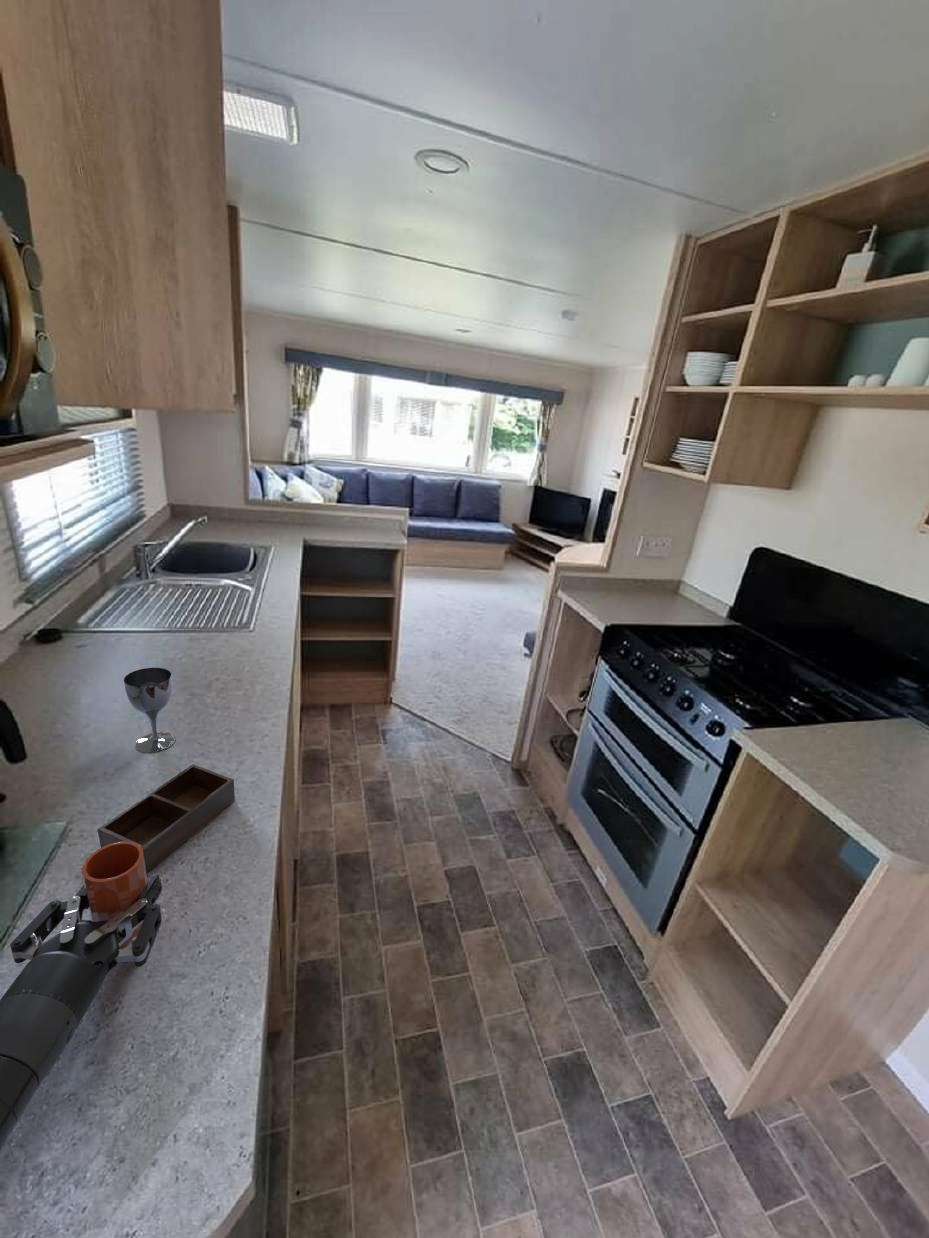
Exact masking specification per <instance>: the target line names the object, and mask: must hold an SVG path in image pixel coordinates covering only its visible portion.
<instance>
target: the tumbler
mask: <svg viewBox="0 0 929 1238" xmlns="http://www.w3.org/2000/svg"><path fill="white" fill-rule="evenodd" d="M81 876H82V881H83V885H84V887H85V892H86V897H87V903H88V908H89V909H88V913H89V918H90V920H91V921H94V922H97V921H103V920H104V921H109V920H110V919H111V918H112V917H114V916H115V915H116V914H117V913H119V912H120V911H125V910H127V909H128V908H129V907H130V906H132V905H133V904H134V903H135V902H137V901H138V897H139V895H140V893H141V892H142V891H143V889H144V887H145V886H146V884H147V882H148V877H147V873H146V869H145V861H144V853H143V850H142V848H141V846H140V845H138V844H136V843H134V842H125V841H123V842H117V843H112V844H109V845H107V846H104V847H102V848H101V847H100V848H98V849H97V850H95V851H94V852H93V853H91V854H90V855H88V857H87V859H86V860H85V861H84V862H83V863H82V868H81ZM141 925H142V924H141ZM141 925H140V926H139V927H137V928H136V929H135V930H134V931H133V934H132V936H131V937H130V938H129V939H128V940H126V941H125V942H124V943H123V944H122V945H121V946H119V947H120V949H123V948H125V947H126V946H127V945H128V944H129V942H130V941H131V939H132V938H133V937H137V935H138V932H139V930H140V928H141ZM116 931H117V933H118V932H119V927H118V928H116Z"/></svg>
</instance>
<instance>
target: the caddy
mask: <svg viewBox="0 0 929 1238" xmlns="http://www.w3.org/2000/svg"><path fill="white" fill-rule="evenodd" d="M235 794H236V793H235V780H234V779H233V778H230V777H228V776H226V775H223V774H220V773H218V772H215V771H212V770H211V769H207V768H204V767H202V766H199V765H197V764H195V763H192V764H191V765H190V766H188V767H186V768H185V769H184V770H182V771H180V772H179V773H178V774H176V775H175V776H173V777H172V778H170V779H169V780H167V781H166V782H164V783H163V784H161V785H160V786H159V787H157V788H156V789H154V790H152V791H151V792H150V793H148V794H147V795H146V796H144V797H142V798H141V799H140V800H137V802H135V803H134V804H132V805H131V806H129V807H127V809H125V810H124V811H122V812H120V813H119V814H117V815H116V816H114V817H113V818H111V819H110V820H109V821H107V822H106V823H104V824H102V825H101V826H100V827H99V828H97V832H98V833H97V834H98V839H99V845H100V848H102V847H104V846H107V845H109V844H112V843H117V842H123V841H125V842H134V843H136V844H138V845H140V846H141V848H142V850H143V853H144V861H145V869H146V874H149V873H150V872H151V871H152V870H153V869H154V868H156V867H157V866H159V864H161V863H162V862H163V861H164V860H165V859H167V858H168V857H169V856H170V855H171V854H173V853H174V852H175V851H176V850H177V849H179V848H180V847H181V846H182V845H183V844H185V843H186V842H187V841H188V840H190V839H191V838H192V837H193V836H194V835H195V834H197V833H198V832H199V831H200V830H201V829H203V828H204V827H205V826H206V825H207V824H209V822H211V821H212V820H213V819H214V818H215V817H217V816H218V815H219V814H220V813H222V812H223V811H224V810H225V809H227V807H229V806H230V805H231V804H232V803H234V802H235V801H236V795H235Z"/></svg>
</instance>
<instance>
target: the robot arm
mask: <svg viewBox="0 0 929 1238" xmlns="http://www.w3.org/2000/svg"><path fill="white" fill-rule="evenodd" d="M160 878H161V877H160V874H151V875H150V877H149V878H148V879H147V884H146V886H145V887H144V889H143V891H142V892H141V893H140V895H139V897H138V901H137V902H135V903H134V904H133V905H132V906H130V907H129V908H128V909H127V910H125V911H120V912H119V913H117V914H116V915H115V916H114V917H112V918H111V919H110V920H109V921H104V920H103V921H97V922H94V921H91V919H83V917H84V910H89V908H88V903H87V897H86V892H85V887H84V884H83V885H82V886H81V887H80V889H79V890H78V891H77V892H76V894H75V895H74V896H71V897H70V898H69V899H67V900H66V901H61V900H60V899H54V900H52V901H50V902H49V903H48V904H46V906H45V907H44V908H43V909H42V910H41V911H40V912H39V913H38V915H36V916H35V917H34V919H33V920H31V921H30V923H29V924H28V925H27V926H25V928H24V929H23V930H22V931H21V932H20V933H19V934H18V935H16V937H15V938H14V939H13V940H12V941H11V942H10V945H9V946H10V950H11V955H12V958H13V961H14V963H15V964H22V963H24V962H25V961H27V960H29V961H28V962H27V963H26V965H25V966H24V968H22V970H21V971H20V973H18V975H17V977H16V978H15V979H14V981H13V982H12V983H11V985H9V987H8V988H7V990H6V992H5V993H4V994H3V995H2V997H1V998H0V1154H1V1153H2V1151H3V1149H4V1147H5V1144H6V1142H7V1141H8V1138H9V1137H10V1136H11V1134H12V1132H13V1131H14V1129H15V1127H16V1126H17V1124H18V1122H19V1120H21V1117H22V1115H24V1113H25V1111H26V1109H27V1107H28V1106H29V1104H30V1102H31V1101H32V1099H33V1097H34V1095H35V1093H37V1091H38V1089H39V1087H40V1085H42V1082H44V1080H45V1078H46V1077H47V1076H48V1074H49V1073H50V1071H51V1070H52V1069H53V1067H55V1065H56V1063H57V1061H58V1060H59V1058H60V1057H61V1055H62V1054H63V1052H64V1050H65V1049H66V1046H67V1045H68V1044H69V1042H71V1040H72V1038H73V1036H74V1034H75V1032H76V1030H77V1028H78V1026H79V1024H80V1023H81V1021H82V1020H83V1018H84V1016H85V1015H86V1013H87V1011H88V1010H89V1007H90V1006H91V1004H92V1003H93V1001H94V999H95V998H96V996H97V994H98V992H99V991H100V989H101V988H102V987H101V986H102V984H103V983H104V980H105V978H106V976H107V975H108V974H109V973H110V972H111V970H113V969H114V968H115V967H116V966H117V965H118V964H119V963H131V962H133V964H134V966H135V968H136V967H137V968H140V967H142V966H144V965H145V964H146V963H147V961H148V959H149V957H150V954H151V951H152V948H153V946H154V944H155V941H156V938H157V935H158V933H159V930H160V928H161V926H162V922H163V920H162V911H161V905H160V904H159V903H156V902H157V900H158V899H159V897H160V895H161V893H162V891H163V883H162V879H160ZM61 922H62V925H61V931H60V932H58V933H57V934H55V935H54V936H52V937H50V938H49V939H48V940H46V939H47V937H49V936H50V934H52V932H53V931H54V930H55V929H56V928H57V927H58V926H59V924H60V923H61ZM141 924H142V925H141ZM140 925H141V928H140V930H139V932H138V935H137V937H133V938H132V939H131V941H130V942H129V944H128V945H127V946H126V947H125V948H123V949H120V947H119V946H121V945H122V944H123V943H124V942H125V941H126V940H128V939H129V938H130V937H131V936H132V934H133V931H134V930H135V929H136V928H137V927H139V926H140ZM118 927H119V932H118V933H117V931H116V928H118ZM45 940H46V941H45Z"/></svg>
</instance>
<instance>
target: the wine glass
mask: <svg viewBox="0 0 929 1238" xmlns="http://www.w3.org/2000/svg"><path fill="white" fill-rule="evenodd" d="M123 685H124V692H125V695H126V698H127V701H128V702H129V705H130V706H131V708H133V709H134V710H135V711H136V712H138V713H140V714H142V715H144V716H145V717H146V718H147V719H148V720H149V724H150V726H151V727H150V728H151V733H148V734H145V735H146V736H145V735H143V736H142V737H140V738H141V739H140V738H139V739H138V740H137V741H138V743H136V742H135V744H136V745H134V747H135V749H136V750H137V751H138V750H139V751H138V752H141V753H145V754H146V753H148V754H149V753H151V752H152V753H157V752H156V751H157V750H158V752H161V751H160V750H161V749H163V748H164V747H168V746H169V744H170V743H171V742H170V741H174V738H173V737H172V736H171V734H172V733H171V734H169V733H170V732H168V733H163V732H164V731H159V732H160V733H157V732H158V731H157V721H158V716H159V714H160V713H161V712H162V711H163V710H164V709H165V707H166V706H168V704H169V703H170V702H171V701H170V700H171V698H172V692H173V675H172V672H171V671H170V670H169V669H167V668H162V667H146V668H140V669H137V670H133V671H131V672H129V673H128V674H127V675H125V676H124V678H123ZM170 745H171V744H170ZM137 748H138V749H137Z"/></svg>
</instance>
